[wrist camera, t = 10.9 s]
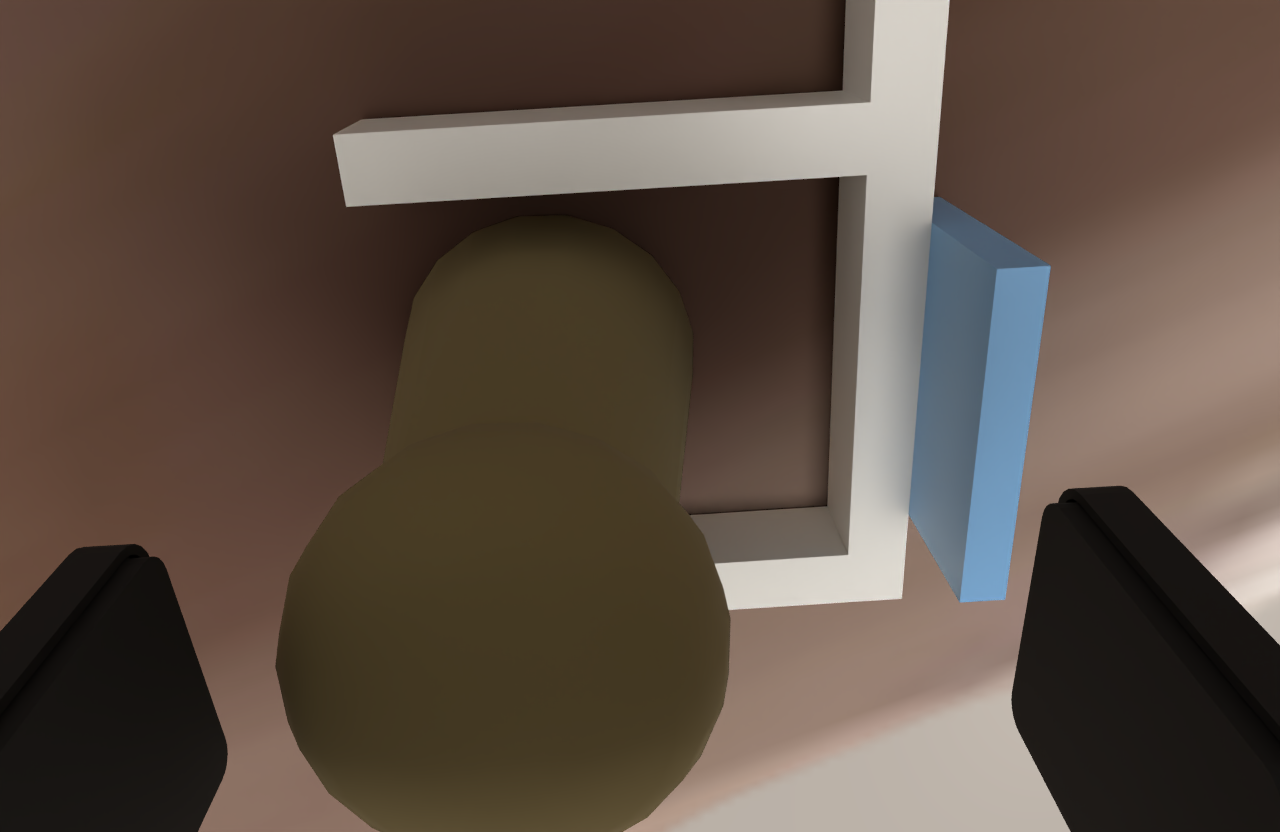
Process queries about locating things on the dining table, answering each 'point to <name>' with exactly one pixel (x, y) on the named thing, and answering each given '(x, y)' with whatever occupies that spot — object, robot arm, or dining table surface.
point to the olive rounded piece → (517, 556)
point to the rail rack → (864, 296)
